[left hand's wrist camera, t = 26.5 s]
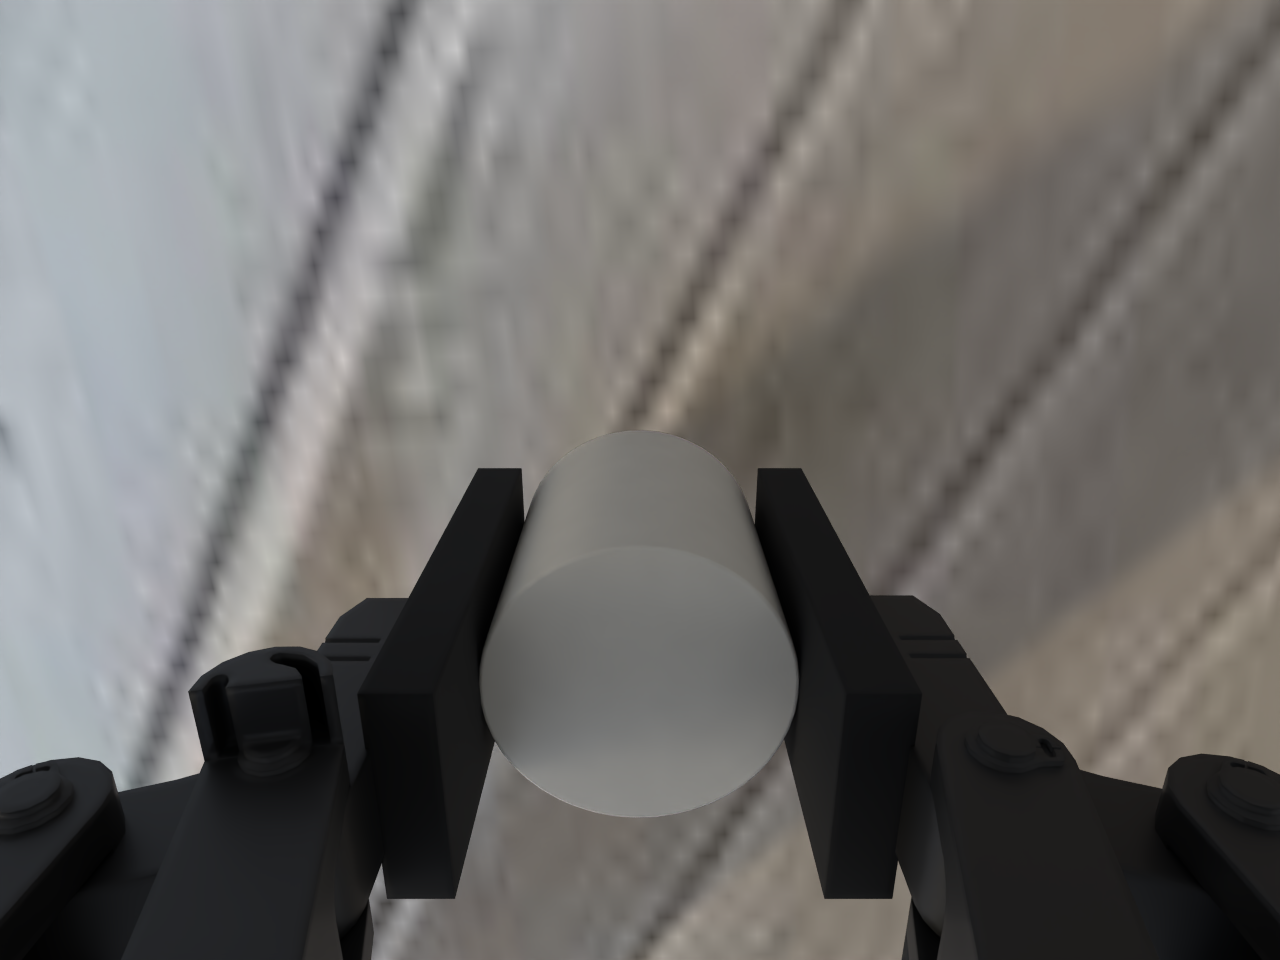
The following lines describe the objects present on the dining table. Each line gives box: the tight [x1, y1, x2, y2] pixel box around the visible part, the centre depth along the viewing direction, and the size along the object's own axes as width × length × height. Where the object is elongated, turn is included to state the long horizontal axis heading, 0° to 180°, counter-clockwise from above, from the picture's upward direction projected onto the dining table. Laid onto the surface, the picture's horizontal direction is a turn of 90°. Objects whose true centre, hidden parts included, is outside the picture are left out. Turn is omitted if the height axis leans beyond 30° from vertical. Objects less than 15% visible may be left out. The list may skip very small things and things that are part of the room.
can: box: [479, 430, 800, 818], centre depth 13 cm, size 4×4×5 cm
